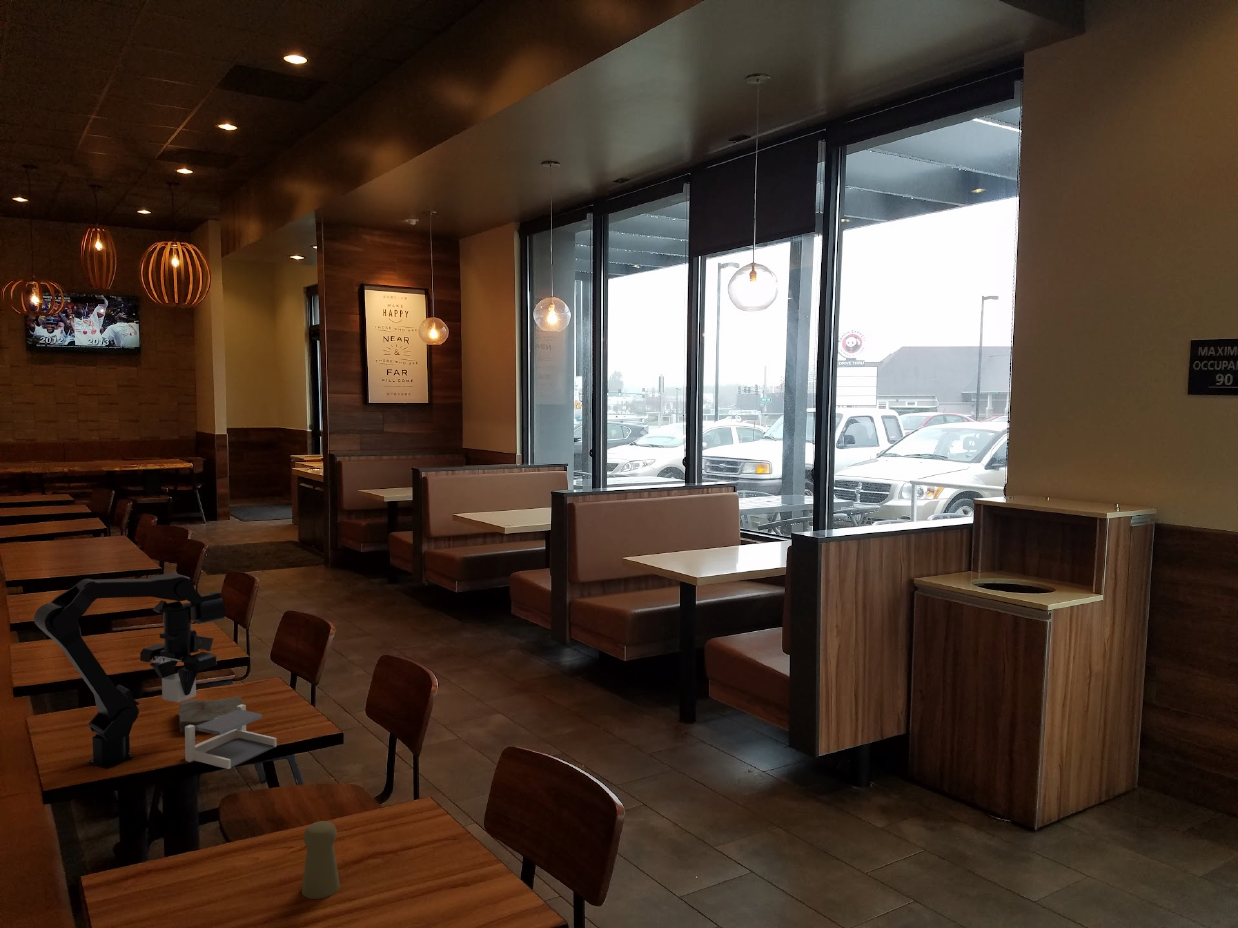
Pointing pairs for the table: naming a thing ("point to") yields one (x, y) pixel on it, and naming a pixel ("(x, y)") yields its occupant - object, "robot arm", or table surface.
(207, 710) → the marble piece
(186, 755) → the frame
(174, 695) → the light grey cube
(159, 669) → the robot arm
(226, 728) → the trapdoor
